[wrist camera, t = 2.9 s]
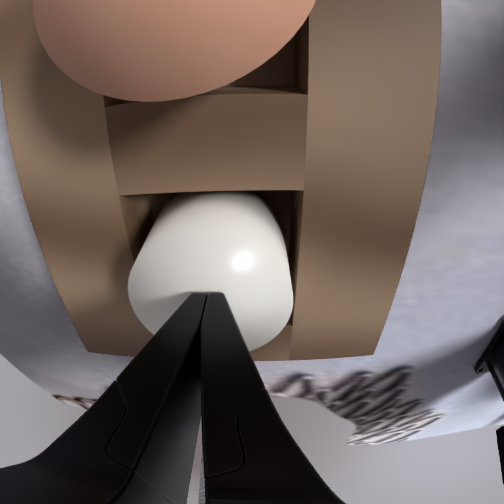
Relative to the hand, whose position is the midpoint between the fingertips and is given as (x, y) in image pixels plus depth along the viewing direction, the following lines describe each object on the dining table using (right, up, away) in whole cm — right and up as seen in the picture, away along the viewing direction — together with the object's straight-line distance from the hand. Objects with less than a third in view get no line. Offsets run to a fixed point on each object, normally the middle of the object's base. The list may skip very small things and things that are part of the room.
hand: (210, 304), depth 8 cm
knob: (0, +2, +3) cm, 3 cm away
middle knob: (0, +7, -3) cm, 8 cm away
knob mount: (0, +9, 0) cm, 9 cm away
